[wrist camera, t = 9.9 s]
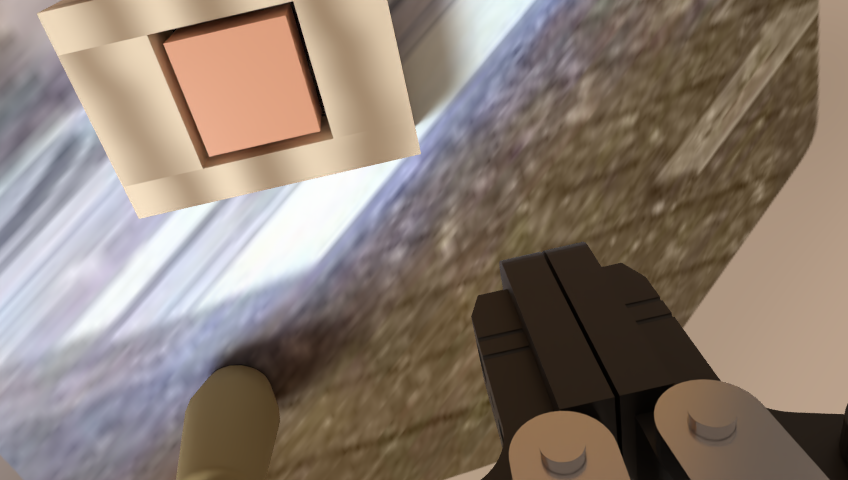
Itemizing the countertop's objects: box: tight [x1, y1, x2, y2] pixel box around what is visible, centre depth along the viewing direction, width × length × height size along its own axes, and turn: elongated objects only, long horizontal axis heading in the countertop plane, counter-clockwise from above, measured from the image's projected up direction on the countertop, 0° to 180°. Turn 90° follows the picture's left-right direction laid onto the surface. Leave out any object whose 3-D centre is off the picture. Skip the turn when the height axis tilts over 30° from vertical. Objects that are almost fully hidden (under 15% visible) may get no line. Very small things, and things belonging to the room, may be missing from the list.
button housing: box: [37, 0, 421, 219], centre depth 43 cm, size 20×14×5 cm
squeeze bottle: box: [176, 365, 280, 480], centre depth 52 cm, size 8×8×18 cm
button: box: [163, 3, 322, 157], centre depth 43 cm, size 8×8×4 cm
